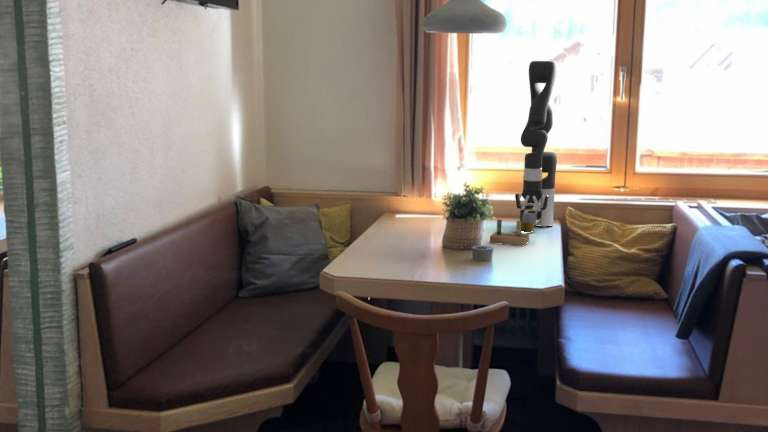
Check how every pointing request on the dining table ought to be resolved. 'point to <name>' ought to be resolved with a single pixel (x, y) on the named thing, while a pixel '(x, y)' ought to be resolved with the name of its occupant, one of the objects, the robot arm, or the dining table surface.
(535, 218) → the link
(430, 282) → the dining table surface
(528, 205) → the condiment
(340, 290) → the dining table surface
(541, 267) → the dining table surface
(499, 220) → the keeper
